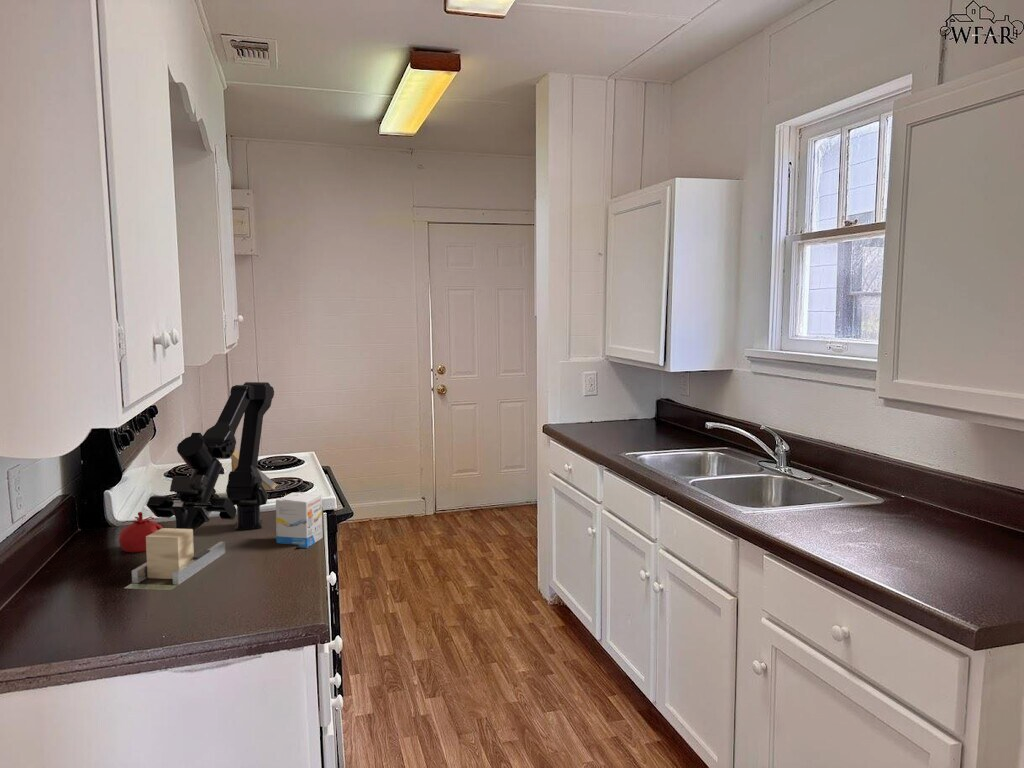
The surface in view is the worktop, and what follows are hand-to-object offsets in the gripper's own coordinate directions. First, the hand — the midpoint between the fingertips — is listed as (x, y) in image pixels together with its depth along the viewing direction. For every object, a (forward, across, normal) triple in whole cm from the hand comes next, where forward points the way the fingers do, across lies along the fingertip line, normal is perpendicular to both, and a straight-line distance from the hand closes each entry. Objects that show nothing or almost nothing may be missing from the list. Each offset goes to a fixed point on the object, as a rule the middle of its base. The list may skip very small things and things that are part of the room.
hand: (178, 541), depth 153 cm
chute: (+4, 0, +5) cm, 7 cm away
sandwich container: (-41, -11, +51) cm, 67 cm away
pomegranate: (-4, -17, +14) cm, 22 cm away
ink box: (-11, +18, +21) cm, 30 cm away
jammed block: (+7, 0, +2) cm, 7 cm away
